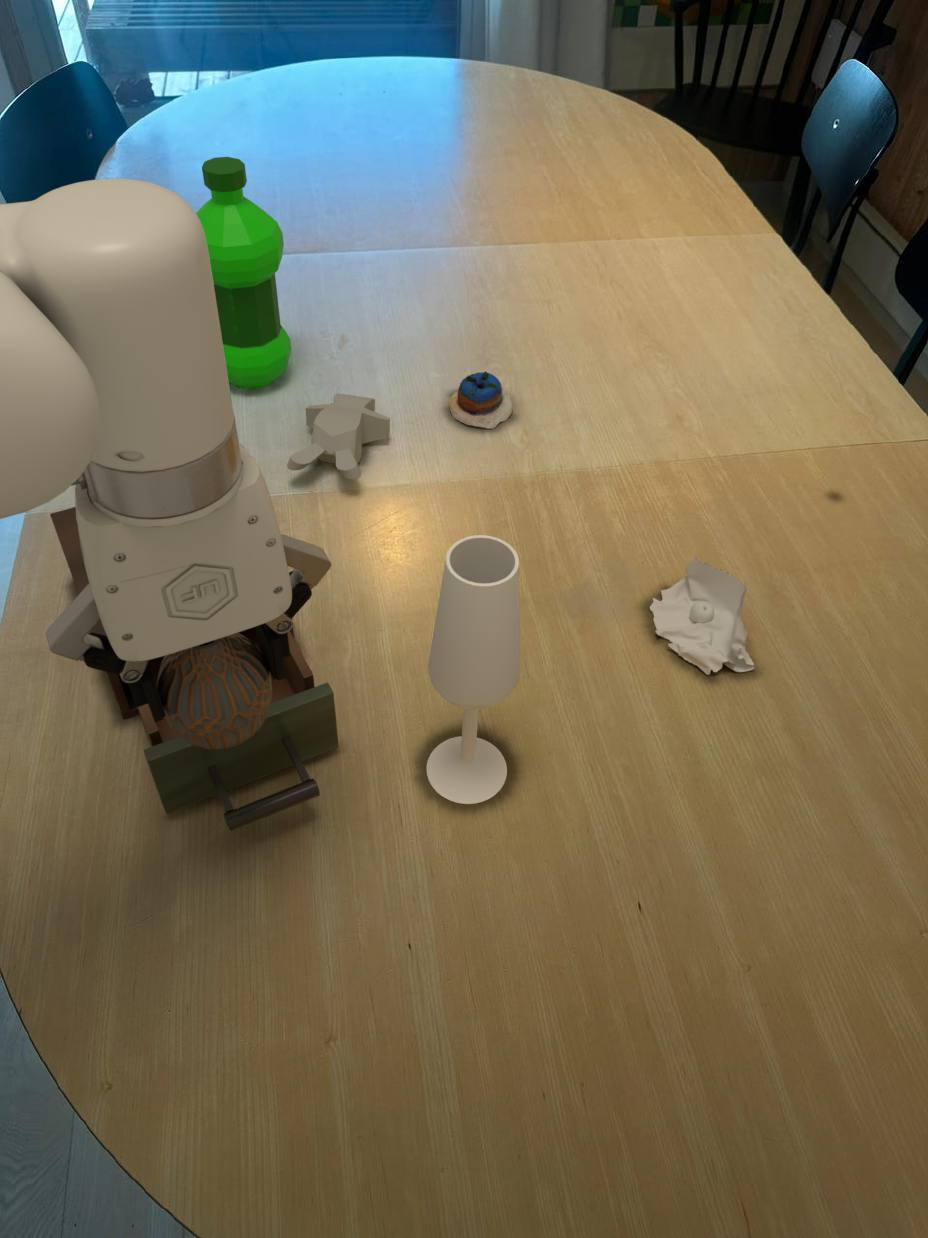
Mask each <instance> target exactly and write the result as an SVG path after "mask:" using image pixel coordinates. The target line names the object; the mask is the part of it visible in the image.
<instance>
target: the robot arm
mask: <svg viewBox="0 0 928 1238" xmlns="http://www.w3.org/2000/svg"><path fill="white" fill-rule="evenodd" d="M196 213H197V212H196V211H195V210H194V208H193V207H192V206H191V205H190V203H188V202H187V200H185V199H184V198H183V197H182V196H181V195H179V194H178V193H175V192H173V191H172V190H170V189H168V188H166V187H165V186H163V185H159V184H156V183H153V182H149V181H145V180H141V179H140V180H139V179H131V178H99V179H91V180H85V181H84V180H83V181H79V182H74V183H70V184H67V185H63V186H60V187H58V188H54V189H52V190H50V191H48V192H46V193H44V194H42V195H41V196H39V197H37V198H36V199H34V200H33V199H32V200H29V201H21V202H11V203H0V520H2V519H5V518H9V517H12V516H17V515H20V514H23V513H27V512H29V511H32V510H33V509H36V508H38V507H41V506H42V505H45V504H47V503H50V502H51V501H52V500H54V499H55V498H58V497H59V496H60V495H62V494H63V493H65V492H66V491H67V490H68V489H69V488H70V487H73V486H74V503H75V505H74V507H76V520H77V525H78V532H79V539H80V546H81V551H82V555H83V560H84V564H85V568H86V572H87V576H88V580H89V584H88V585H87V586H86V587H85V588H84V590H83V591H82V592H81V593H80V594H78V595H77V596H76V597H75V598H74V600H72V601H71V603H69V604H68V606H67V607H66V608H65V609H64V610H63V611H62V613H60V614H59V615H58V617H57V618H56V619H55V620H54V621H53V622H52V624H51V625H50V626H49V627H48V628H47V629H46V631H45V637H46V641H47V644H48V647H49V651H50V652H51V653H52V654H55V655H58V656H61V657H64V658H67V659H69V660H70V659H71V660H73V661H75V662H78V661H81V662H83V663H85V666H86V667H88V668H91V669H94V670H98V671H102V672H105V673H106V672H109V673H113V674H117V675H120V676H121V679H122V681H123V682H125V683H128V684H129V687H130V690H131V693H132V696H133V699H134V701H135V704H136V707H139V706H142V705H145V704H148V705H149V708H150V711H151V713H152V716H153V719H154V722H158V721H161V720H163V717H166V715H165V712H164V709H163V705H162V702H161V699H160V695H159V692H158V689H157V686H156V682H155V679H154V676H153V674H152V671H151V668H150V666H149V663H148V660H150V659H154V658H158V657H162V656H165V655H168V654H172V653H175V652H178V651H181V650H185V649H188V648H191V647H194V646H197V645H201V644H204V643H207V642H210V641H213V640H216V639H219V638H223V637H226V636H229V635H232V634H235V633H238V632H241V631H244V630H247V629H250V628H253V627H255V628H256V634H257V640H258V646H259V649H260V652H261V654H262V656H263V658H264V659H265V661H266V663H267V666H268V669H269V671H270V673H271V675H272V677H273V679H277V680H281V679H284V678H285V670H284V663H283V658H286V657H289V656H290V648H289V641H288V634H287V632H288V631H290V630H291V629H292V627H293V628H294V621H293V619H294V617H295V616H296V615H297V614H298V612H300V610H301V609H302V608H303V607H304V606H305V604H307V602H308V601H309V600H310V599H311V597H312V595H313V591H312V590H313V588H314V587H317V586H318V585H319V583H320V582H321V580H322V579H323V578H324V577H325V575H327V573H328V571H329V570H330V569H331V568H332V562H331V560H330V559H329V557H328V555H327V554H326V552H325V550H324V548H322V547H320V546H317V545H315V544H311V543H309V542H306V541H303V540H300V539H298V538H294V537H291V536H289V535H286V534H283V533H281V531H280V526H279V522H278V519H277V515H276V511H275V508H274V507H275V506H274V505H273V500H272V496H271V493H270V491H269V488H268V485H267V483H266V479H265V477H264V475H263V473H262V470H261V468H260V466H259V464H258V462H257V460H256V458H254V457H253V456H252V455H251V453H250V451H249V450H248V449H247V448H246V447H245V446H244V445H243V444H242V443H240V441H239V437H238V436H239V435H238V428H237V423H236V416H235V413H234V407H233V401H232V400H233V399H232V394H231V388H230V387H231V386H230V382H229V380H228V374H227V368H226V361H225V355H224V348H223V342H222V335H221V329H220V323H219V316H218V310H217V303H216V297H215V290H214V284H213V277H212V271H211V264H210V258H209V251H208V246H207V242H206V237H205V232H204V229H203V227H202V224H201V222H200V219H199V218H198V216H197V214H196ZM289 568H293V570H292V571H289ZM100 619H101V622H102V625H103V628H104V630H105V633H106V635H107V636H104V635H101V634H97V633H92V632H90V631H91V629H92V628H93V627H94V626H95V625H96V623H97V622H98V621H99V620H100Z"/></svg>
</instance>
